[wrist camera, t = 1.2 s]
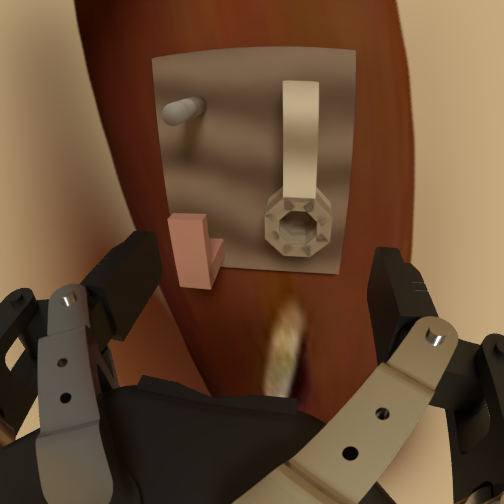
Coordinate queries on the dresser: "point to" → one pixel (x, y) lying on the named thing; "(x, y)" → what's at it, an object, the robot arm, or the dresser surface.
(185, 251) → the keeper
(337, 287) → the dresser surface
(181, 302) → the dresser surface
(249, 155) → the hinge base
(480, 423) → the robot arm
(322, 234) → the birch link
